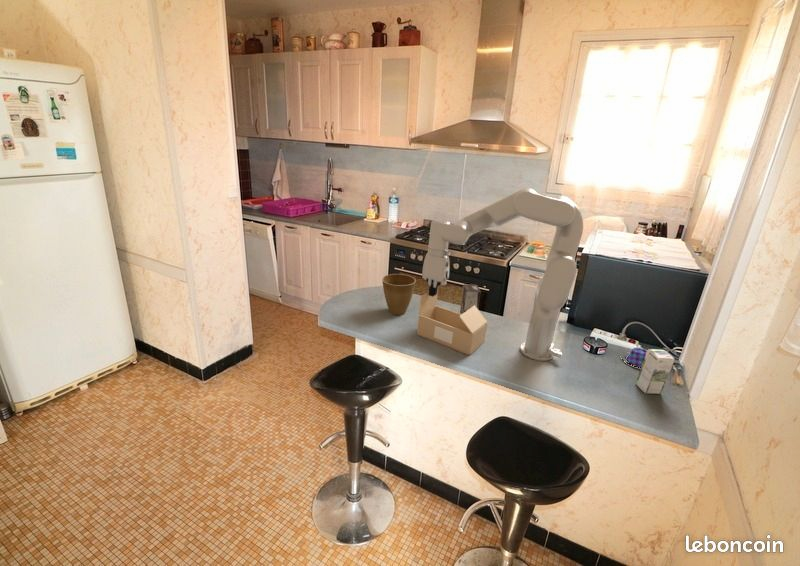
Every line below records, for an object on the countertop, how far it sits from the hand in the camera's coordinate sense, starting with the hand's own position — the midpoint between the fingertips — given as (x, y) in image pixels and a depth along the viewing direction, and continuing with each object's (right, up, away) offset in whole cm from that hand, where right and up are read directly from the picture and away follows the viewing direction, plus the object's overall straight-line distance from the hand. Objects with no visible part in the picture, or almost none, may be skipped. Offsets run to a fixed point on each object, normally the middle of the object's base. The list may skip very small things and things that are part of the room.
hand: (432, 295), depth 158 cm
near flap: (+15, -9, -8) cm, 19 cm away
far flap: (-1, -2, +2) cm, 3 cm away
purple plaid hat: (+79, -26, -7) cm, 83 cm away
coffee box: (+17, -12, +17) cm, 27 cm away
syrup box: (+72, -32, -24) cm, 82 cm away
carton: (+7, -18, +1) cm, 19 cm away
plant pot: (-15, -8, +21) cm, 27 cm away
